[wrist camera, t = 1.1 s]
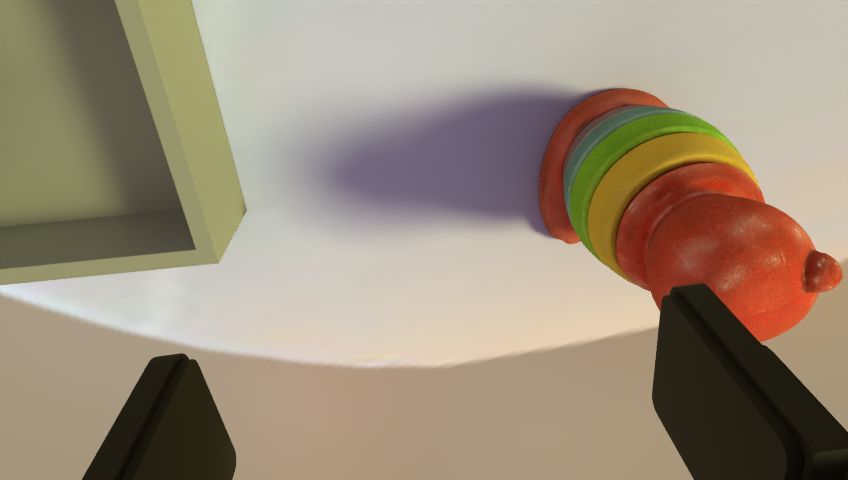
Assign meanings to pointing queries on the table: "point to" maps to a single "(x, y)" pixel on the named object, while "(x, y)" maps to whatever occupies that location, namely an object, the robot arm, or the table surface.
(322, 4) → the table surface
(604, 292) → the table surface
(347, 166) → the table surface
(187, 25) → the big crate
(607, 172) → the stacking bear
